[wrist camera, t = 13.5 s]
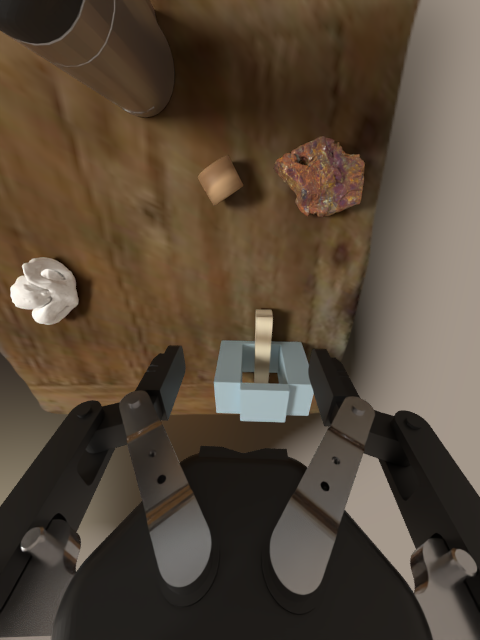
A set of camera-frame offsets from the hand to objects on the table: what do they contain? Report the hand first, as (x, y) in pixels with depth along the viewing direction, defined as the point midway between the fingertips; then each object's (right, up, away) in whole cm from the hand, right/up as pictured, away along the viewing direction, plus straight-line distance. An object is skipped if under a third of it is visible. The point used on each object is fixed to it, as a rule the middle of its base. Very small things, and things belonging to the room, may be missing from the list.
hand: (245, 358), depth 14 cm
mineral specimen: (+11, +23, +19) cm, 32 cm away
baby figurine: (-35, +9, +30) cm, 47 cm away
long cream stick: (+4, -5, +34) cm, 35 cm away
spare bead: (-3, +23, +19) cm, 30 cm away
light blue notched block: (+4, -6, +36) cm, 36 cm away
